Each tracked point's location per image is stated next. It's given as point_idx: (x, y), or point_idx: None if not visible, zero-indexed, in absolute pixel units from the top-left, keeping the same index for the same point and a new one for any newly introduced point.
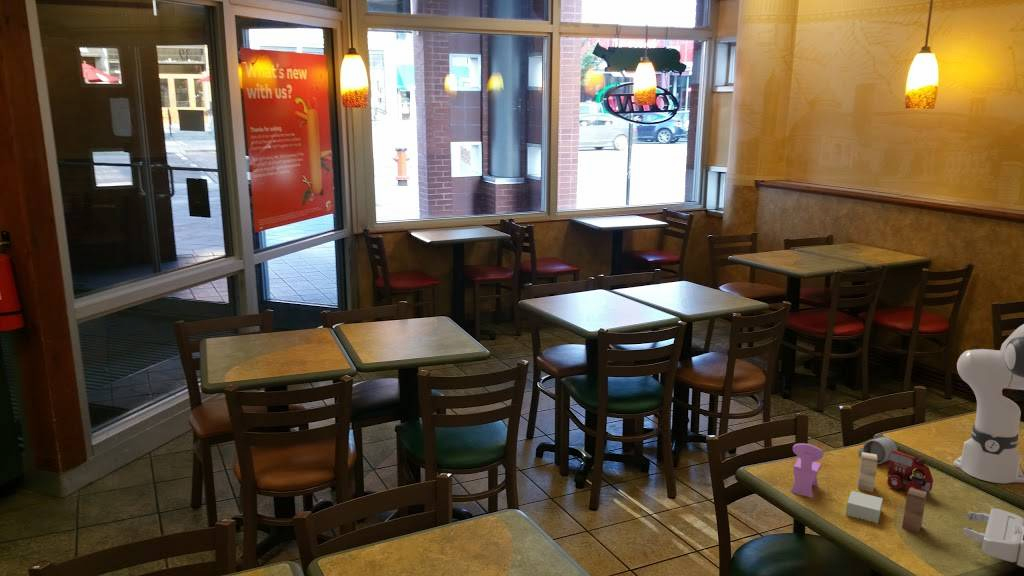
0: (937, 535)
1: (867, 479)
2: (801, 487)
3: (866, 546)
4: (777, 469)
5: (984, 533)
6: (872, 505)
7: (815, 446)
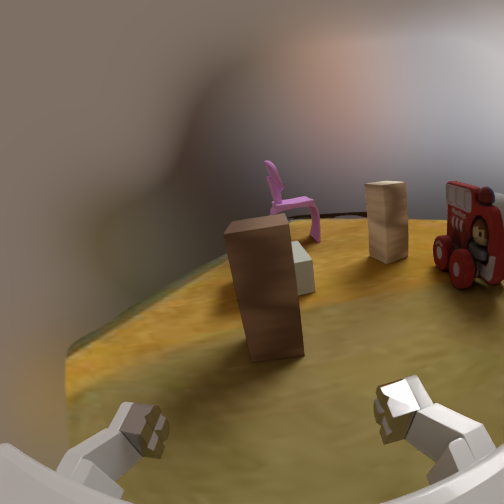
0: (273, 399)
1: (377, 234)
2: None
3: (130, 316)
4: (324, 224)
5: (83, 484)
6: None
7: (269, 161)
